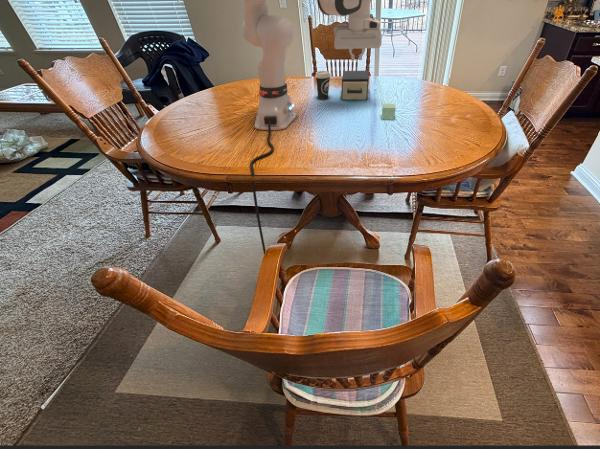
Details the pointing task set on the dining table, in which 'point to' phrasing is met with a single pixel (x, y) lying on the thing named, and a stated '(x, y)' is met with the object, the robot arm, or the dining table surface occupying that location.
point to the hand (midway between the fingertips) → (356, 59)
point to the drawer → (354, 90)
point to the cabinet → (355, 79)
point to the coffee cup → (322, 84)
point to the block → (388, 111)
